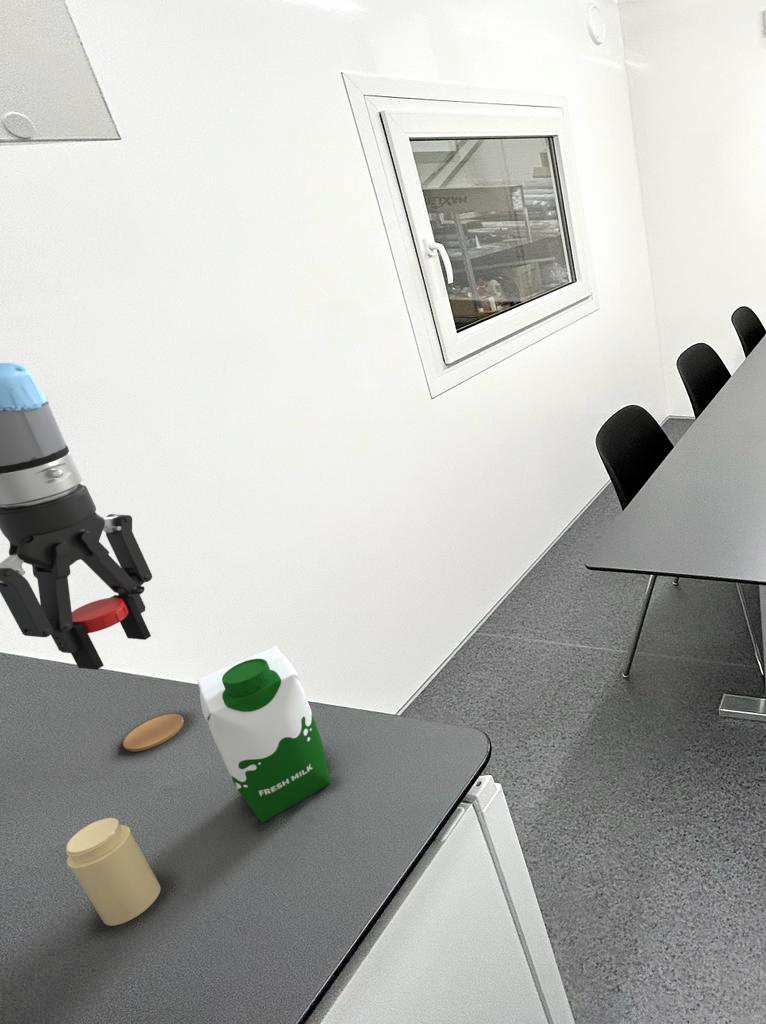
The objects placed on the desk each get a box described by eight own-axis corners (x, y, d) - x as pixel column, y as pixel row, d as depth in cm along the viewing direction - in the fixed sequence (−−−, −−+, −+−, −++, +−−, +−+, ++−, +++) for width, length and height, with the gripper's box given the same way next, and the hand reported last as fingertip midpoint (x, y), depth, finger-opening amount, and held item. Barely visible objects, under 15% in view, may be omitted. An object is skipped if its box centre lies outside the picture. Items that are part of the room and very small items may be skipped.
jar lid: (137, 613, 81) (132, 601, 81) (88, 637, 77) (82, 625, 76) (113, 606, 83) (108, 594, 82) (63, 629, 78) (57, 617, 78)
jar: (89, 927, 64) (45, 857, 60) (130, 882, 68) (91, 815, 65) (134, 924, 65) (93, 855, 61) (172, 880, 69) (136, 812, 65)
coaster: (111, 752, 84) (109, 750, 84) (151, 717, 89) (150, 714, 89) (158, 750, 84) (156, 748, 84) (195, 715, 90) (194, 713, 90)
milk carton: (255, 833, 74) (197, 704, 66) (237, 789, 79) (181, 665, 72) (341, 782, 80) (297, 659, 73) (319, 744, 85) (276, 626, 78)
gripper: (-39, 536, 65) (57, 707, 73) (148, 464, 81) (209, 610, 90) (-99, 531, 65) (3, 701, 74) (98, 461, 82) (163, 606, 90)
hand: (116, 651), depth 82 cm, fingers closed on jar lid, 5 cm apart
